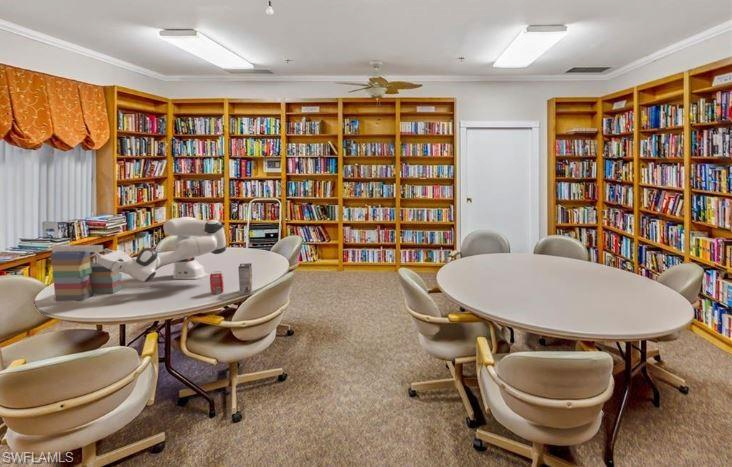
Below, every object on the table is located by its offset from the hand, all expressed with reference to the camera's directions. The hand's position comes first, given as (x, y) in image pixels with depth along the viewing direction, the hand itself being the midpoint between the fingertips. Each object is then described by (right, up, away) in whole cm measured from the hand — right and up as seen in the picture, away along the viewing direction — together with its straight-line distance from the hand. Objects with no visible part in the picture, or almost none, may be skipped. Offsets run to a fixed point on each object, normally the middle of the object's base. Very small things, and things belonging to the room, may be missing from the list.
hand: (99, 251), depth 219 cm
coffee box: (+74, -24, +16) cm, 80 cm away
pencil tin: (-11, 0, -1) cm, 11 cm away
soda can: (+58, -25, +14) cm, 65 cm away
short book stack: (-8, -24, +15) cm, 29 cm away
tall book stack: (-15, -26, +3) cm, 30 cm away
